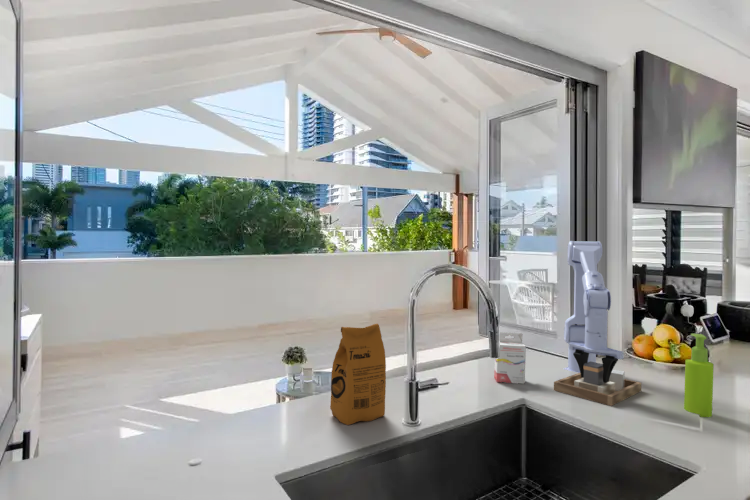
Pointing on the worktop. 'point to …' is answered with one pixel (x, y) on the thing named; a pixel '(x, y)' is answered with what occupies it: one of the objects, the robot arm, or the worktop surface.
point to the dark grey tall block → (593, 373)
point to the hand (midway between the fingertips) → (594, 379)
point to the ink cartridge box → (511, 359)
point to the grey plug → (617, 379)
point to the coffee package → (359, 376)
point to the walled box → (596, 389)
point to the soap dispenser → (699, 380)
